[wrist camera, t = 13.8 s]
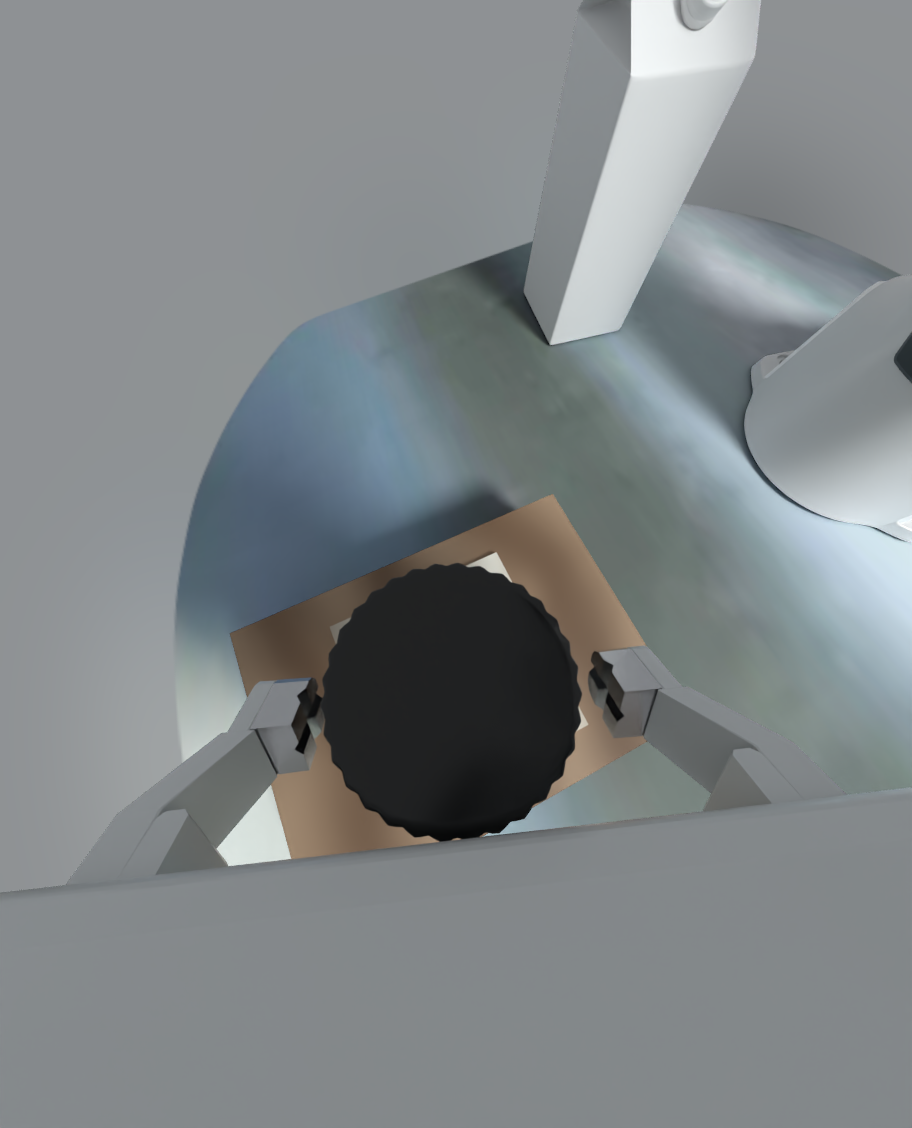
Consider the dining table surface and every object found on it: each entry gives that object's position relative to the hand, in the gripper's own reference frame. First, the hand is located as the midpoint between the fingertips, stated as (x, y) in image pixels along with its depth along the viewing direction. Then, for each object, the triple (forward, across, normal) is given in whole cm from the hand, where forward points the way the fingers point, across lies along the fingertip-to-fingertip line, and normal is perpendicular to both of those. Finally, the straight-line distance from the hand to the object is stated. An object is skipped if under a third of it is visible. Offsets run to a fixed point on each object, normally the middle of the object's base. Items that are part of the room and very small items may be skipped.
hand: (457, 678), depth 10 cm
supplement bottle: (+6, 0, +6) cm, 8 cm away
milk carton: (+32, -14, -13) cm, 37 cm away
